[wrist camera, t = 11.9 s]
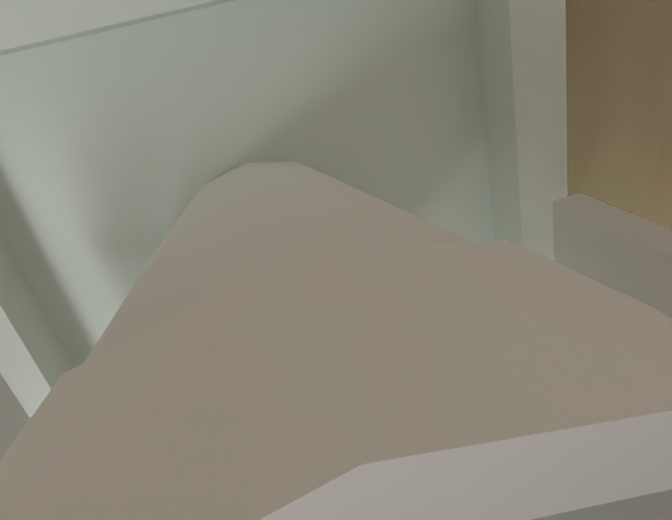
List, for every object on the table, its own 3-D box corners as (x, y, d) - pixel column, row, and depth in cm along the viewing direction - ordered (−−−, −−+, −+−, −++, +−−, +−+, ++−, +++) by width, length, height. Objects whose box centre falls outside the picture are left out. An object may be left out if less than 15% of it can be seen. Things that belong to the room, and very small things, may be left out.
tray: (121, 504, 20) (108, 577, 17) (-172, 21, 12) (-280, 15, 9) (525, 363, 22) (569, 408, 19) (496, -125, 14) (564, -163, 11)
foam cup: (135, 397, 17) (-25, 1218, 5) (84, 109, 13) (-946, 690, 1) (405, 363, 19) (728, 886, 7) (426, 105, 15) (1171, 325, 3)
